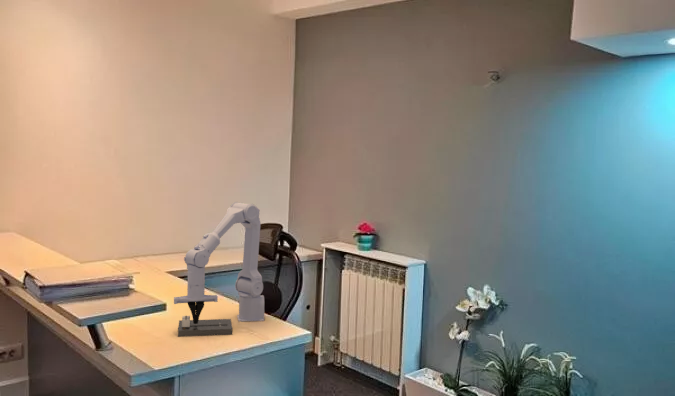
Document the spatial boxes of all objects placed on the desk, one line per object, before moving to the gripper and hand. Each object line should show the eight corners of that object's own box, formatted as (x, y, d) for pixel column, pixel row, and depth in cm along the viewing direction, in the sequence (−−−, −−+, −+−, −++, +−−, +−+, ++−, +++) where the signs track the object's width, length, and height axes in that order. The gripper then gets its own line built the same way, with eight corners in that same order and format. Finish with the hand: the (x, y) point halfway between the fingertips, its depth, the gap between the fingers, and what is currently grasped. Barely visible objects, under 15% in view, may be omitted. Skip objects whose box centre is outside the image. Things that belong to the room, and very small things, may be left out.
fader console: (230, 324, 213) (230, 318, 213) (232, 334, 202) (232, 328, 201) (179, 326, 209) (179, 320, 209) (177, 336, 197) (177, 330, 197)
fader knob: (189, 322, 205) (189, 315, 205) (189, 327, 201) (189, 319, 200) (182, 322, 205) (182, 315, 205) (182, 327, 200) (182, 319, 200)
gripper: (215, 280, 208) (215, 318, 210) (173, 282, 204) (173, 321, 205) (218, 285, 202) (217, 324, 203) (174, 287, 197) (174, 326, 198)
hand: (195, 323), depth 203 cm, fingers closed
